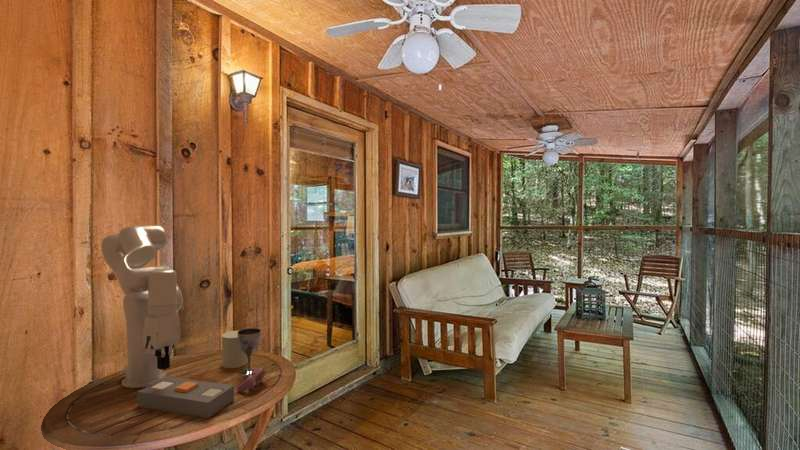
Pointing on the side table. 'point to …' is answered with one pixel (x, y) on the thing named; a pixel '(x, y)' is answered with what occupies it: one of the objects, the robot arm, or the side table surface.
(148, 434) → the side table surface
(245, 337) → the wine glass
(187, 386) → the button orange
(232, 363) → the can
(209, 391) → the button sage
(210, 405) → the button panel
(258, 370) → the video game controller
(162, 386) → the button cream
